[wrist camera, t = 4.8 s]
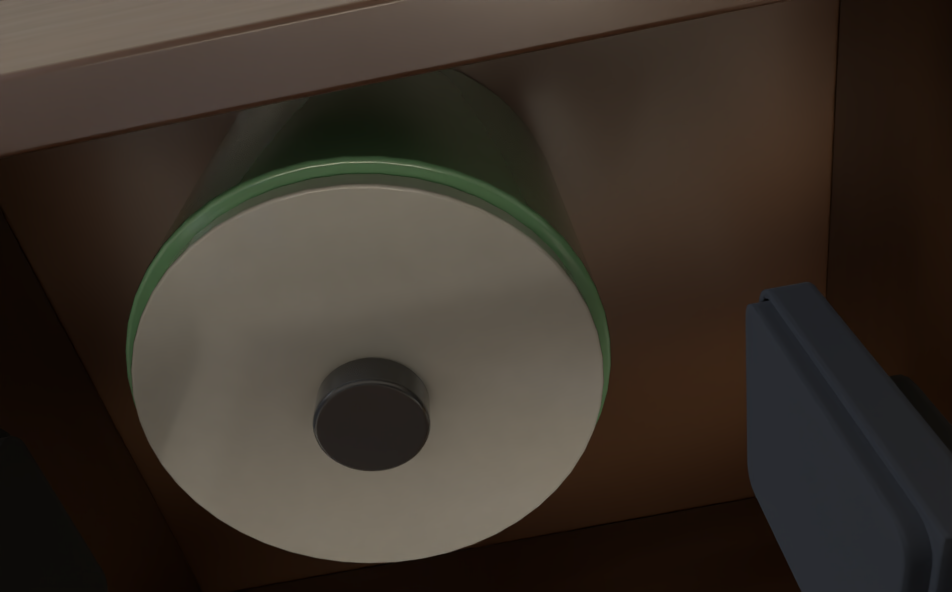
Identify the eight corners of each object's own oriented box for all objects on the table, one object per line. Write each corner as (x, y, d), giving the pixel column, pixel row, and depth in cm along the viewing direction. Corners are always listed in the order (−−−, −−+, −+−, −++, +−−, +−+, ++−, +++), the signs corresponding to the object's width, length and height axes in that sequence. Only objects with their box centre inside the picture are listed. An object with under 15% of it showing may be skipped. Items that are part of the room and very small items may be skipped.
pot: (149, 94, 15) (-1, 253, 9) (531, 17, 14) (600, 134, 9) (268, 397, 18) (208, 637, 13) (577, 339, 18) (646, 558, 13)
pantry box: (-117, 19, 15) (-547, 186, 8) (872, -186, 14) (1276, -186, 7) (194, 595, 22) (104, 915, 16) (832, 480, 22) (1011, 763, 15)
